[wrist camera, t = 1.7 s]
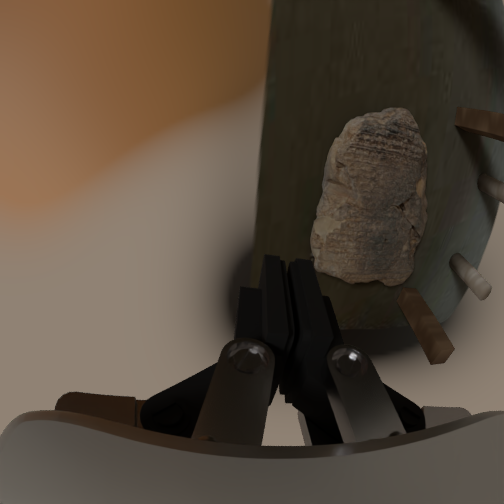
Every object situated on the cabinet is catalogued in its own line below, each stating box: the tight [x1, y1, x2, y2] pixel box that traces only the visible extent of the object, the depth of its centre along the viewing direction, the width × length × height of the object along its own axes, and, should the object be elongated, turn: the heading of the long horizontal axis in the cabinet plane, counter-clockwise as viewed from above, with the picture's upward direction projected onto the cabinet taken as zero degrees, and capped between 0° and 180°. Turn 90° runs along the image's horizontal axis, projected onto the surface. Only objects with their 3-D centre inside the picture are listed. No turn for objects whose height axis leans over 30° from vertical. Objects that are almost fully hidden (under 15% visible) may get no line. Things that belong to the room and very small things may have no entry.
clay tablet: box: [310, 108, 427, 286], centre depth 26 cm, size 14×5×20 cm
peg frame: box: [397, 107, 504, 365], centre depth 23 cm, size 27×9×12 cm, turn 172°
